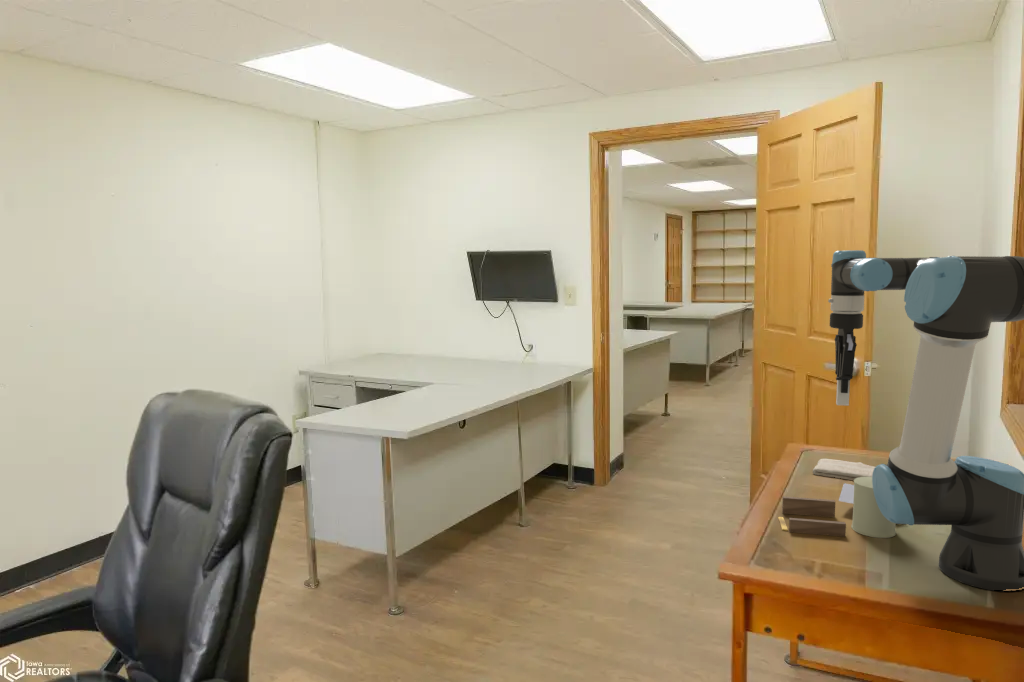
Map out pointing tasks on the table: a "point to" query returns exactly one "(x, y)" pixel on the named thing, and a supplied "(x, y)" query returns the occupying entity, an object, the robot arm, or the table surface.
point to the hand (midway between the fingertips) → (842, 404)
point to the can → (869, 512)
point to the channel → (813, 509)
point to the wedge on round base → (847, 493)
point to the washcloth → (842, 469)
